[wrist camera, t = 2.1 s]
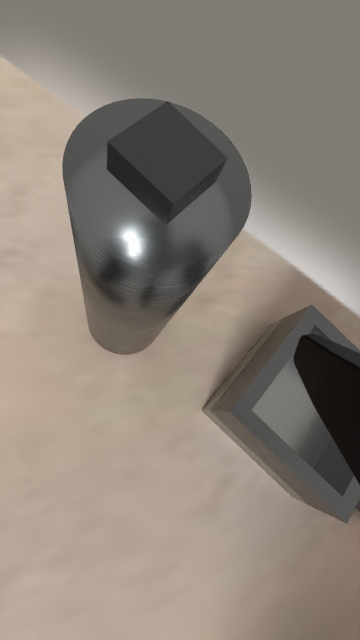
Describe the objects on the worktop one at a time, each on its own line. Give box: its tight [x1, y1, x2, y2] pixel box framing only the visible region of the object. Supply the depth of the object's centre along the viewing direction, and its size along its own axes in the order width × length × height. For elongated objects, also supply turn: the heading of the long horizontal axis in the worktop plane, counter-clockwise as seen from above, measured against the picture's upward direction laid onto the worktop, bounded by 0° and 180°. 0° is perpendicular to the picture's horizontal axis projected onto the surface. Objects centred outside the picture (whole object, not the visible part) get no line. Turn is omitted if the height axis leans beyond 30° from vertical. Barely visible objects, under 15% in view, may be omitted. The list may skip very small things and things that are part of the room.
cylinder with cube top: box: [62, 99, 251, 355], centre depth 13 cm, size 4×4×14 cm
